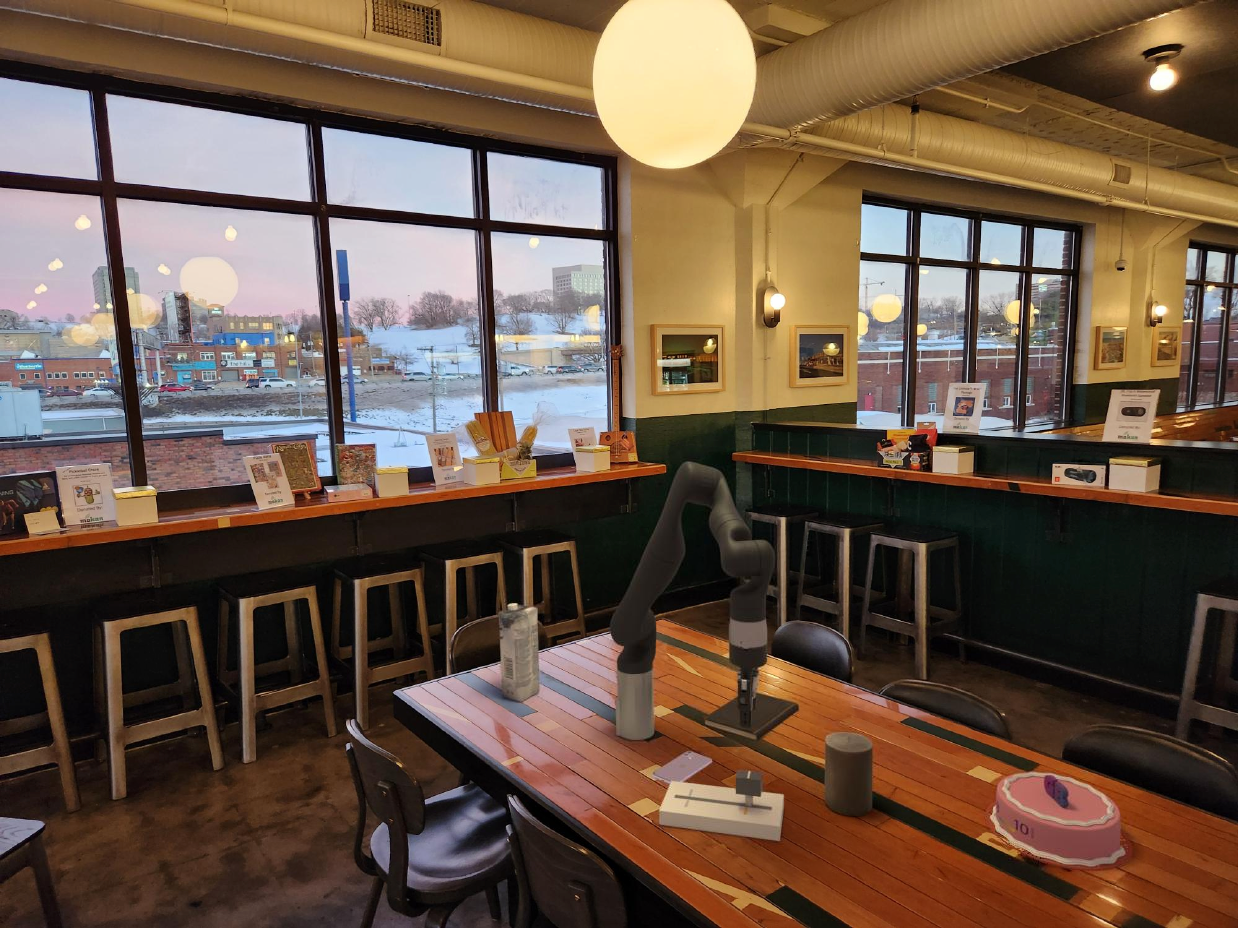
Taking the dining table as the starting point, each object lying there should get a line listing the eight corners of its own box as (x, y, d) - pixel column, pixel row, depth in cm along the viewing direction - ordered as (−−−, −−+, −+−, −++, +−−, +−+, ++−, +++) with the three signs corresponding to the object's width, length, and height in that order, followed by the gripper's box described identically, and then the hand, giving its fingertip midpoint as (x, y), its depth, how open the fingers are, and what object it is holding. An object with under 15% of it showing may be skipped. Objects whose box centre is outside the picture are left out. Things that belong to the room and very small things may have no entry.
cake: (963, 798, 161) (964, 750, 160) (1081, 796, 161) (1082, 748, 160) (1025, 873, 136) (1026, 817, 135) (1164, 870, 136) (1167, 814, 135)
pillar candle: (865, 821, 153) (866, 750, 152) (818, 808, 158) (818, 738, 157) (877, 799, 161) (878, 731, 160) (831, 787, 166) (832, 721, 165)
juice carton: (544, 691, 223) (541, 602, 221) (521, 704, 214) (517, 611, 212) (521, 685, 228) (517, 598, 225) (497, 698, 219) (494, 607, 217)
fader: (735, 806, 153) (735, 776, 153) (737, 798, 156) (737, 769, 156) (760, 809, 152) (760, 779, 151) (762, 801, 155) (762, 771, 154)
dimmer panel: (659, 824, 154) (659, 809, 153) (671, 793, 165) (671, 780, 165) (779, 840, 147) (779, 825, 147) (783, 807, 159) (783, 793, 158)
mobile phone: (649, 773, 173) (688, 748, 184) (649, 777, 173) (688, 752, 184) (676, 783, 168) (714, 758, 179) (676, 787, 168) (714, 762, 179)
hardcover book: (703, 726, 199) (703, 717, 199) (747, 697, 217) (747, 689, 217) (757, 742, 189) (757, 734, 189) (799, 711, 207) (798, 703, 206)
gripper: (733, 627, 159) (734, 701, 160) (724, 649, 145) (724, 731, 147) (770, 629, 157) (770, 705, 158) (763, 652, 143) (763, 735, 145)
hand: (748, 717), depth 152 cm, fingers open, 8 cm apart
